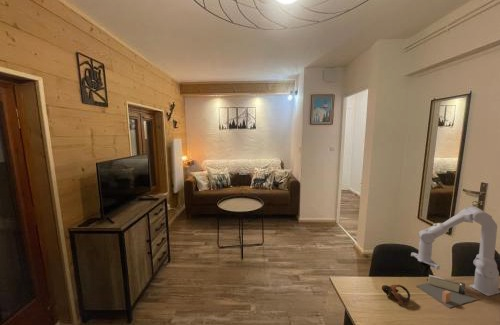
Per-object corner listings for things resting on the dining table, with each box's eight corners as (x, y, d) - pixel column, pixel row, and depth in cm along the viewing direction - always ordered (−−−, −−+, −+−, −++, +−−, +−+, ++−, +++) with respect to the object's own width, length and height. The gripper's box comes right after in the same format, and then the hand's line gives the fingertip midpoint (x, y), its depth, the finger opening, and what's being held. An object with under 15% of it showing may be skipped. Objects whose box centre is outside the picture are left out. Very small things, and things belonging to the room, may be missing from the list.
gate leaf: (458, 290, 114) (458, 282, 114) (458, 292, 113) (459, 283, 113) (428, 282, 121) (429, 274, 121) (428, 283, 120) (429, 275, 120)
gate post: (460, 292, 114) (461, 281, 114) (465, 294, 112) (466, 284, 112) (457, 293, 114) (458, 282, 113) (462, 295, 112) (463, 285, 111)
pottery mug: (402, 293, 116) (410, 286, 111) (405, 312, 109) (414, 305, 104) (377, 284, 119) (384, 276, 114) (379, 302, 112) (386, 295, 107)
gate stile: (446, 299, 109) (447, 290, 109) (450, 301, 108) (450, 292, 107) (441, 300, 109) (442, 291, 108) (445, 303, 107) (446, 293, 107)
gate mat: (441, 279, 124) (441, 279, 124) (476, 300, 109) (476, 299, 109) (416, 286, 120) (416, 285, 120) (449, 308, 105) (449, 307, 104)
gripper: (407, 246, 130) (406, 267, 132) (433, 259, 116) (431, 283, 118) (416, 244, 132) (415, 265, 134) (443, 257, 118) (441, 280, 120)
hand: (423, 273), depth 126 cm, fingers closed
